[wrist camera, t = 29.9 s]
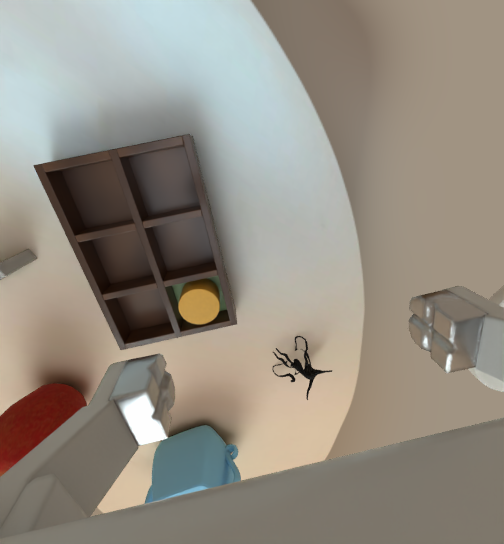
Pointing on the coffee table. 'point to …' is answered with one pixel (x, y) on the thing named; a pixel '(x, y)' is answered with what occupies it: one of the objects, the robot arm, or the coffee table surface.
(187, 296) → the cylinder
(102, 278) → the grid
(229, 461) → the teapot
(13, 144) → the coffee table surface
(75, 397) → the apple
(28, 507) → the robot arm
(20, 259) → the grey flat piece
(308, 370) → the creature
